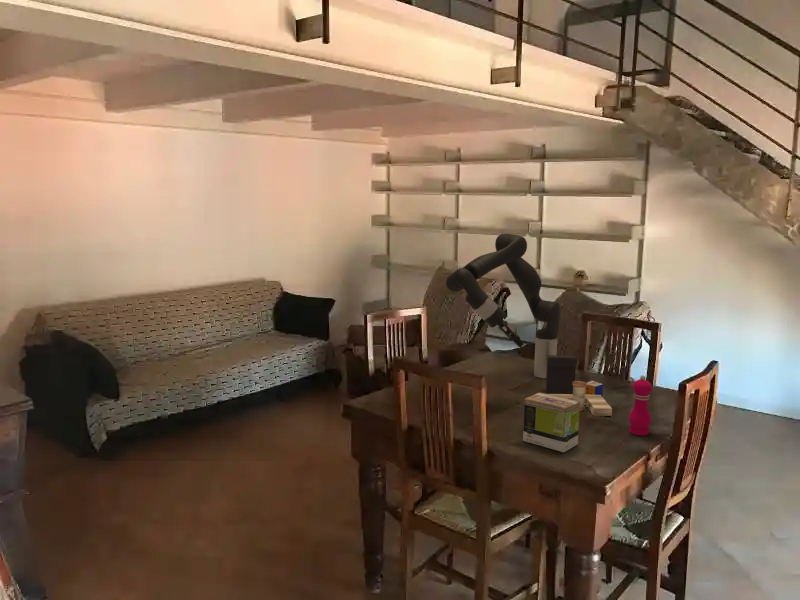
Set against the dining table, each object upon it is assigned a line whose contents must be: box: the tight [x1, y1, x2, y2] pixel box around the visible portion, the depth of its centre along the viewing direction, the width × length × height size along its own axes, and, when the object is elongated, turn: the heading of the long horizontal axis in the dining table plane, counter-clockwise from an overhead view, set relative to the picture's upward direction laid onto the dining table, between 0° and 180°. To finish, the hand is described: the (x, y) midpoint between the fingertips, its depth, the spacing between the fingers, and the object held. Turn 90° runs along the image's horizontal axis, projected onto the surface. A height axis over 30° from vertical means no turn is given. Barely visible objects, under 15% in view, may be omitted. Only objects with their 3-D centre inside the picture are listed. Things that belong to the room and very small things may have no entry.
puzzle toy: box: [585, 380, 604, 397], centre depth 262 cm, size 6×5×6 cm
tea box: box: [522, 392, 580, 453], centre depth 213 cm, size 15×10×15 cm
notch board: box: [548, 393, 613, 418], centre depth 247 cm, size 16×20×3 cm
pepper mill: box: [628, 374, 653, 437], centre depth 223 cm, size 7×7×20 cm
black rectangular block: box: [545, 354, 577, 394], centre depth 266 cm, size 11×4×15 cm, turn 84°
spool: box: [572, 380, 587, 412], centre depth 247 cm, size 5×5×10 cm
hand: (520, 342), depth 245 cm, fingers open, 8 cm apart
